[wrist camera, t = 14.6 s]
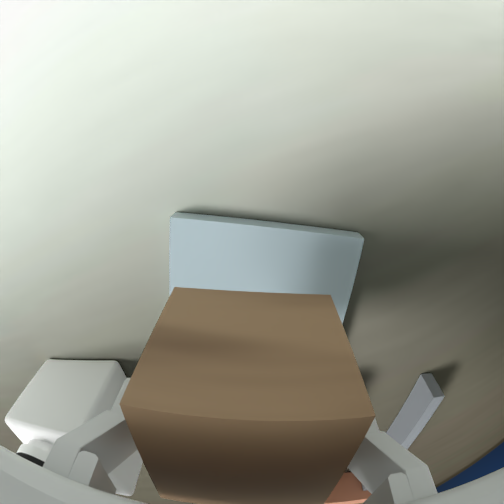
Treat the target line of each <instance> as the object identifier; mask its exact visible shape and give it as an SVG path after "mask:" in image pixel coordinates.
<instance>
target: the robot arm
mask: <svg viewBox="0 0 504 504" xmlns="http://www.w3.org/2000/svg"><path fill="white" fill-rule="evenodd" d="M130 379H131V378H127V379H126V380H125V381H124V383H123V385H122V388H121V390H120V392H119V394H118V396H117V398H116V400H115V403H114V405H113V407H112V409H111V411H109V410H106V411H104V412H103V413H101V414H99V415H98V416H96V417H94V418H93V419H91V420H89V421H87V422H86V423H84V424H82V425H81V426H79V427H77V428H75V429H74V430H72V431H70V432H68V433H67V434H65V435H63V436H61V437H59V438H58V439H56V441H55V443H54V445H53V447H52V449H51V451H50V453H49V455H48V457H47V459H46V461H45V463H44V465H43V467H41V466H39V465H37V464H35V463H33V462H31V461H29V460H27V459H25V458H23V457H21V456H19V455H17V454H15V453H13V452H12V451H10V450H8V449H6V448H4V447H3V446H1V445H0V504H148V503H144V502H139V501H136V500H132V499H128V498H124V497H121V496H117V495H115V493H116V490H117V489H116V488H115V486H114V484H113V483H112V481H111V480H110V478H109V476H108V474H109V473H110V472H111V471H113V470H114V469H115V468H116V467H117V466H119V465H120V464H121V463H122V462H123V461H125V460H126V459H127V458H128V457H129V456H131V455H132V454H133V453H134V452H135V451H136V450H138V449H137V447H136V445H135V442H134V440H133V438H132V435H131V433H130V430H129V428H128V425H127V423H126V420H125V418H124V415H123V412H122V410H121V407H120V404H119V403H120V401H121V399H122V397H123V394H124V392H125V390H126V388H127V385H128V383H129V381H130ZM348 468H349V470H350V471H351V472H352V473H353V474H354V475H355V476H356V477H357V479H358V480H359V481H360V482H361V483H362V484H363V485H364V486H365V487H366V489H367V490H368V491H369V492H370V493H371V494H372V495H371V496H370V497H369V498H368V499H367V500H366V501H365V502H364V503H363V504H504V467H503V468H501V469H499V470H497V471H495V472H492V473H490V474H488V475H486V476H483V477H481V478H479V479H476V480H474V481H471V482H469V483H466V484H464V485H461V486H458V487H455V488H452V489H450V490H447V491H444V492H441V493H437V490H436V487H435V485H434V482H433V479H432V476H431V474H430V471H429V468H428V466H427V465H426V464H425V463H423V462H422V461H421V460H419V459H418V458H417V457H416V456H414V455H413V454H412V453H410V452H409V451H408V450H407V449H405V448H404V447H403V446H401V445H400V444H399V443H398V442H396V441H395V440H394V439H393V438H391V437H390V436H389V435H388V434H386V433H385V432H384V431H379V428H378V425H377V422H376V419H375V418H374V420H373V422H372V424H371V426H370V428H369V430H368V432H367V434H366V435H365V437H364V439H363V441H362V443H361V445H360V446H359V448H358V450H357V452H356V453H355V455H354V457H353V459H352V460H351V462H350V464H349V465H348Z"/></svg>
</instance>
